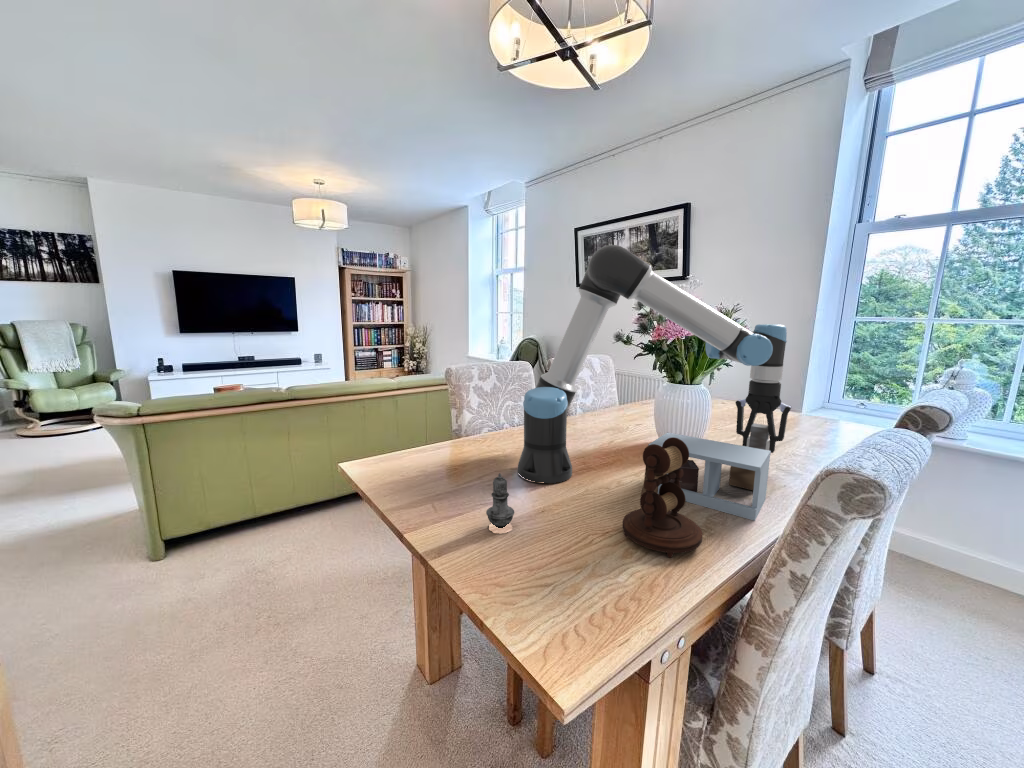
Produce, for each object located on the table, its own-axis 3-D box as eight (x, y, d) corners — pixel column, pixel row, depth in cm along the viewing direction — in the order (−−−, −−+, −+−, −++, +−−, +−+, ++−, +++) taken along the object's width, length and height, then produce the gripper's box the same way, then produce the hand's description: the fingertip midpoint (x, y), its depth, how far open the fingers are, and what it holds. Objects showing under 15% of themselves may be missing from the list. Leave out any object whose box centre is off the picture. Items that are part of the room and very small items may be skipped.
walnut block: (728, 484, 104) (733, 439, 102) (746, 461, 120) (749, 422, 118) (755, 490, 100) (760, 444, 98) (769, 466, 116) (774, 426, 114)
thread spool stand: (649, 512, 91) (654, 426, 87) (715, 541, 79) (724, 442, 76) (607, 535, 82) (610, 439, 78) (675, 570, 70) (683, 460, 67)
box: (697, 497, 98) (699, 468, 97) (671, 495, 99) (672, 466, 98) (691, 486, 104) (693, 459, 103) (666, 485, 105) (668, 458, 104)
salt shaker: (504, 538, 81) (504, 481, 79) (480, 530, 84) (479, 475, 82) (519, 525, 86) (519, 471, 84) (496, 518, 89) (496, 465, 87)
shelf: (645, 490, 102) (648, 444, 100) (665, 474, 112) (667, 432, 110) (754, 520, 87) (760, 467, 85) (765, 498, 97) (771, 450, 95)
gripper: (804, 381, 110) (794, 464, 114) (734, 376, 121) (727, 451, 125) (801, 385, 104) (791, 472, 108) (728, 379, 115) (721, 457, 119)
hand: (756, 460), depth 116 cm, fingers closed on walnut block, 4 cm apart
